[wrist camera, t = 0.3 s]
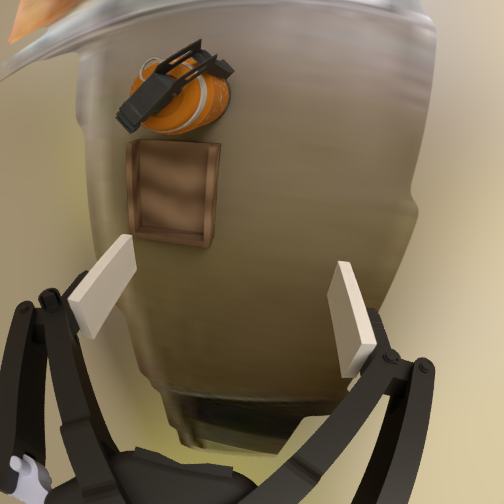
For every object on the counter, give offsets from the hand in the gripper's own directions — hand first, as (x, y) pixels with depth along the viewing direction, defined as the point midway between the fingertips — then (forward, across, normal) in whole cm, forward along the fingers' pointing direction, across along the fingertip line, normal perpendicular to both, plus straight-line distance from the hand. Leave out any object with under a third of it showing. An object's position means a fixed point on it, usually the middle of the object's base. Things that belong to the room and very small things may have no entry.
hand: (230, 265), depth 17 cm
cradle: (+28, -13, -6) cm, 31 cm away
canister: (+28, -8, +10) cm, 31 cm away
